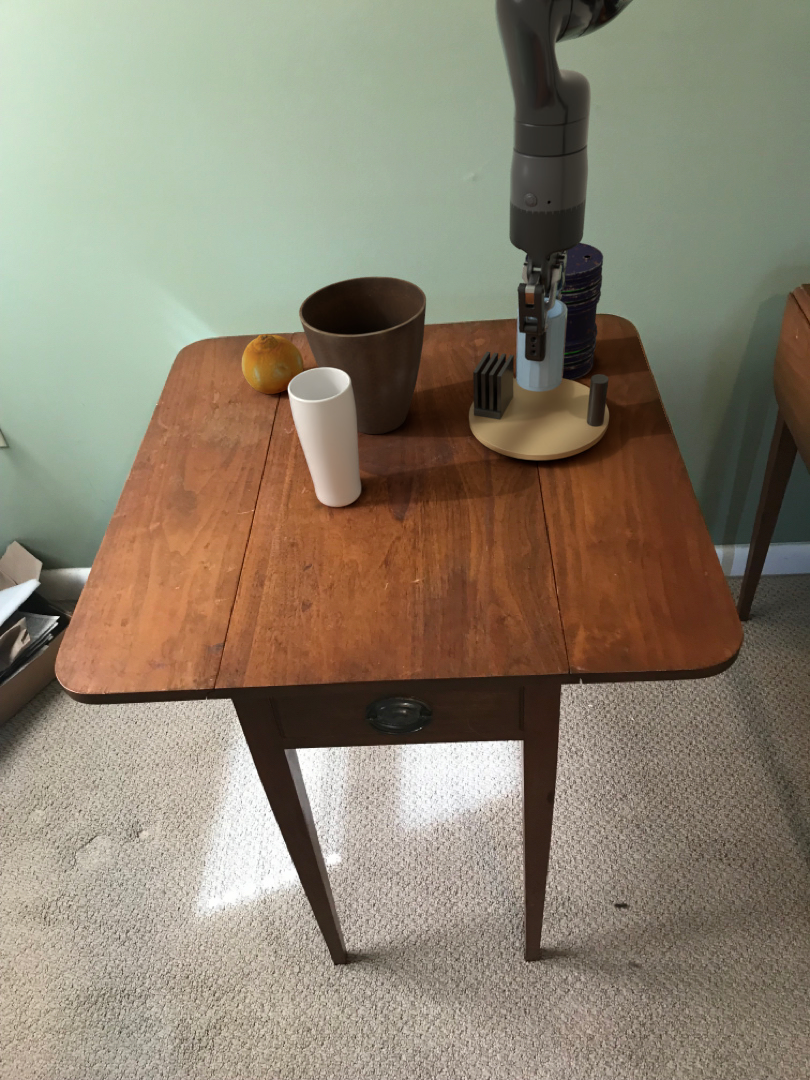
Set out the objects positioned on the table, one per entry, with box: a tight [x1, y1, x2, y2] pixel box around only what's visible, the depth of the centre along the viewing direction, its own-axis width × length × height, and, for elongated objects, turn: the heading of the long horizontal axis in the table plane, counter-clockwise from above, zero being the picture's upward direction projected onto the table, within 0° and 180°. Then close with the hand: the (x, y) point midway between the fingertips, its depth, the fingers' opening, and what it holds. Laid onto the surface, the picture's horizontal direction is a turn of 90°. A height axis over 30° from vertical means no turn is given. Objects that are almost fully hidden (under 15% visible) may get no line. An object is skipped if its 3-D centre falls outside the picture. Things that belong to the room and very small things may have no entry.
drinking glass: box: [287, 367, 362, 508], centre depth 84 cm, size 7×7×15 cm
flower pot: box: [298, 275, 427, 435], centre depth 95 cm, size 15×15×16 cm
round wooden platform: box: [468, 351, 610, 460], centre depth 93 cm, size 17×17×7 cm
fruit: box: [241, 333, 304, 395], centre depth 106 cm, size 8×8×8 cm
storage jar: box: [524, 242, 604, 381], centre depth 101 cm, size 10×10×15 cm
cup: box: [515, 298, 567, 392], centre depth 88 cm, size 5×5×9 cm
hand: (541, 345), depth 88 cm, fingers closed on cup, 5 cm apart
